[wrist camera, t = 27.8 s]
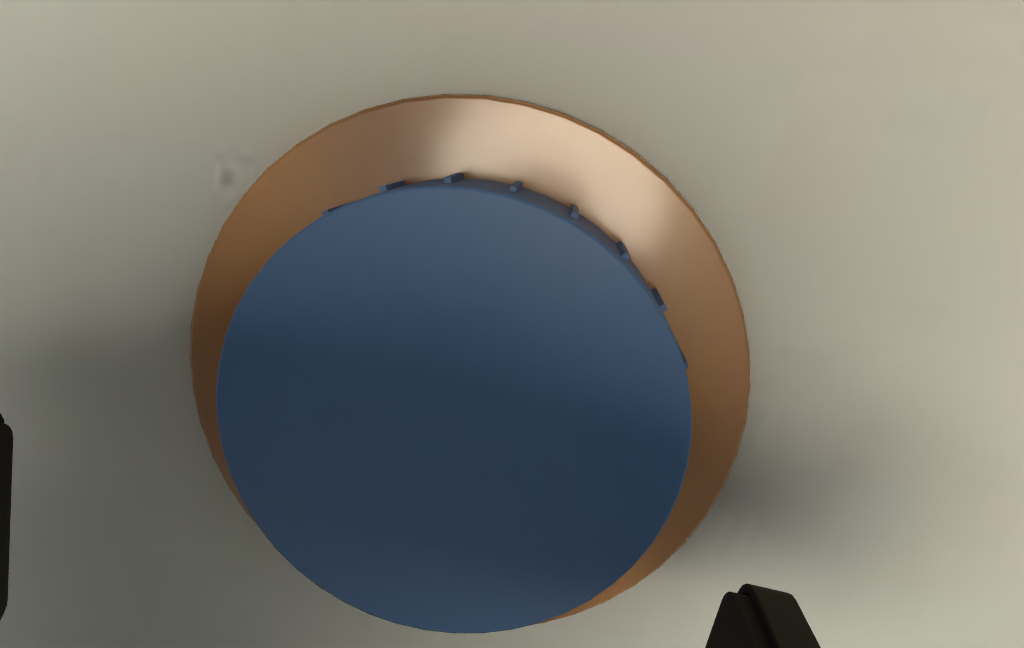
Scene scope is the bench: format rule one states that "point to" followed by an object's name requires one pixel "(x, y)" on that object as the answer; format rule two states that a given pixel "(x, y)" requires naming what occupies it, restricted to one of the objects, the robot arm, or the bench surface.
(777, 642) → the robot arm
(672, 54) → the bench surface
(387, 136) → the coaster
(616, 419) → the lid
